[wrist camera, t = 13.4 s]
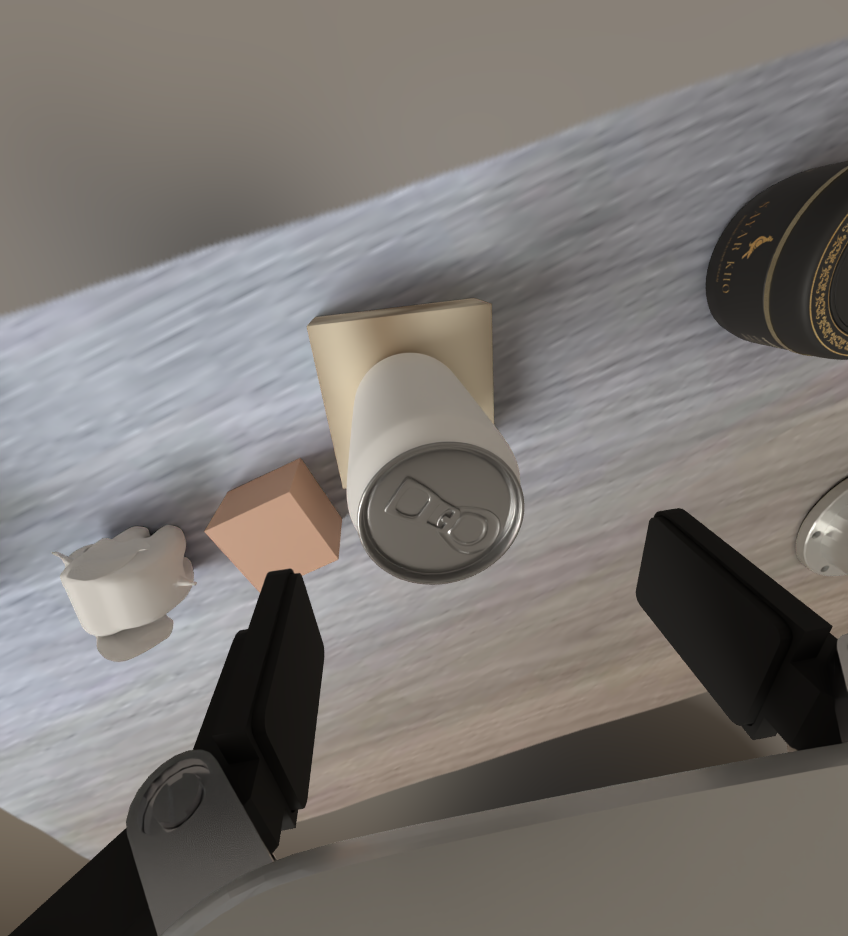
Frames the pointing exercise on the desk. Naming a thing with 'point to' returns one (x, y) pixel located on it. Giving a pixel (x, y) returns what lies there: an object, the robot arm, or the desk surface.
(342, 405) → the birch block
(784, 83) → the desk surface
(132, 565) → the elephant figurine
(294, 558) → the terracotta block
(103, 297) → the desk surface
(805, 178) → the jar
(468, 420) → the can
